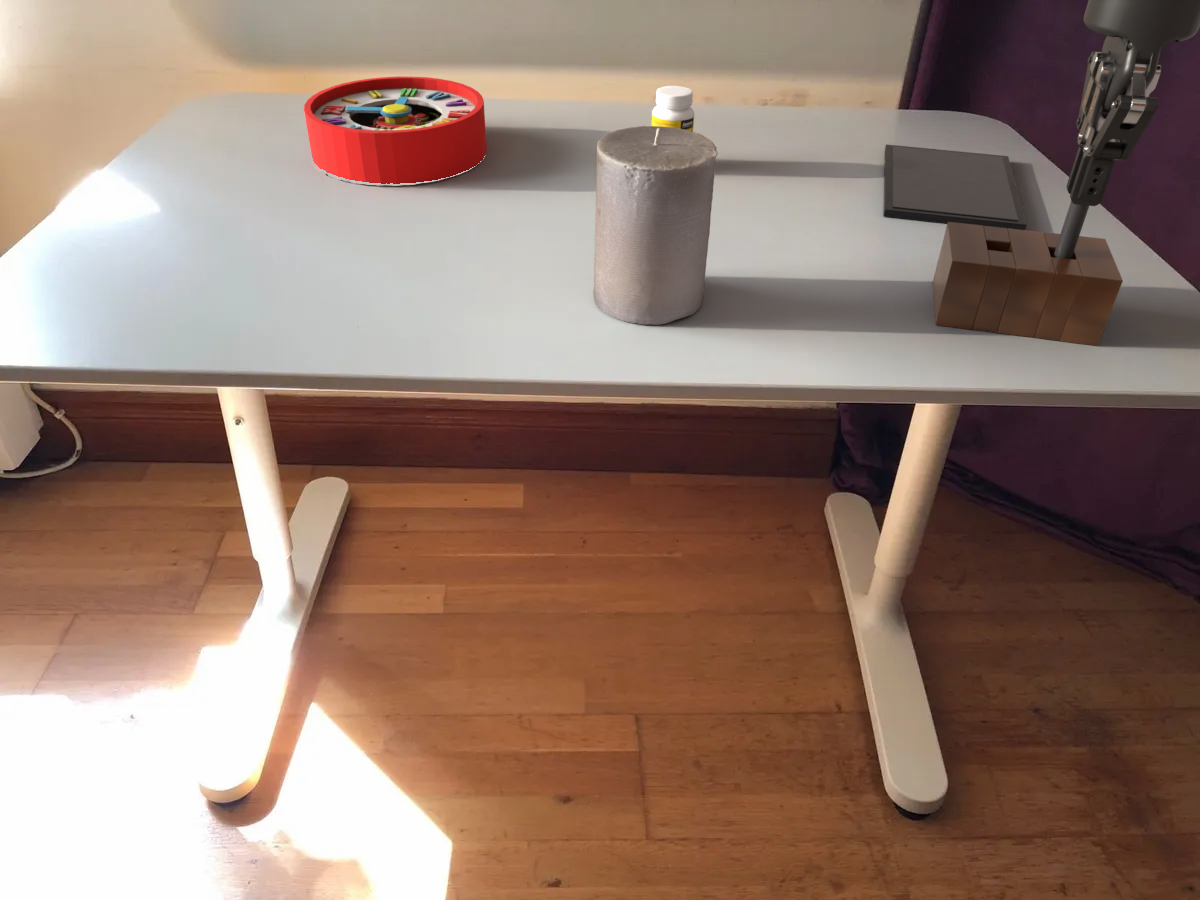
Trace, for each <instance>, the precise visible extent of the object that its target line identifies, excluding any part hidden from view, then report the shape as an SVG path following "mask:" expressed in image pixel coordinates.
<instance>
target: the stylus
mask: <svg viewBox="0 0 1200 900" xmlns="http://www.w3.org/2000/svg"><path fill="white" fill-rule="evenodd" d="M1108 141H1109V142H1111V141H1112V139H1110V140H1108ZM1089 208H1090V206H1087V205H1076V204H1073V203H1072V201H1071V200H1070V203H1069V206H1068V210H1067V213H1066V215H1065V219H1064V222H1063V225H1062V227H1061V231H1060V233H1059V234H1060V237H1059V240H1058V243H1057V246H1056V249H1055V252H1054V255H1053V257H1056V258H1064V259H1072V256H1073V253H1074V250H1075V247H1076V244H1077V241H1078V238H1079V236H1081V235H1080V234H1081V233H1082V232H1081V231H1082V229H1083V226H1084V223H1085V220H1086V217H1087V214H1088V212H1089Z"/></svg>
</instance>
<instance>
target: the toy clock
mask: <svg viewBox="0 0 1200 900" xmlns="http://www.w3.org/2000/svg"><path fill="white" fill-rule="evenodd" d="M303 105H304V107H303V113H304V119H305V125H306V130H307V136H308V142H309V149H310V154H311V159H312V158H313V161H314V163H315V164H316V165H317V166H318V167H319V168H320V169H323V170H325V171H326V172H327V173H331V174H333V175H336V176H338V177H343V178H345V179H349V180H355V181H362V182H369V183H381V184H386V183H387V184H390V183H393V184H400V183H416V182H424V181H432V180H438V179H441V178H446V177H450V176H453V175H456V174H458V173H461V172H463V171H466V170H469V169H470V168H472V167H474V166H476V165H477V164H478V163H480V161H482V160H483V158H484V156H485V155H486V156H487V153H486V151H487V152H488V147H487V132H486V116H485V99H484V97H483V95H482V94H481V93H480V92H479V91H478V90H476V89H475V88H473V87H471V86H469V85H467V84H464V83H460V82H457V81H453V80H450V79H449V80H448V79H443V78H436V77H428V76H402V75H401V76H381V77H372V78H371V77H370V78H365V79H357V80H353V81H349V82H348V81H347V82H343V83H339V84H336V85H333V86H330V87H327V88H324V89H322V90H319V91H318V92H317V93H314V94H313V95H312V96H310V97H309V98H308V99H307V100H306V101H305V103H304V104H303ZM484 159H485V158H484ZM313 161H312V162H313ZM483 161H484V160H483ZM314 163H313V164H314ZM480 164H481V163H480Z"/></svg>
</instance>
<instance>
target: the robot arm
mask: <svg viewBox="0 0 1200 900" xmlns="http://www.w3.org/2000/svg"><path fill="white" fill-rule="evenodd" d="M1083 23H1084V25H1085V26H1086V28H1088V29H1089V30H1090V31H1093V32H1094V33H1097V34H1100V35H1102V36H1106V37H1105V39H1104V41H1103V44H1102V48H1101V51H1092V52H1091V53H1090V55H1089V56H1088V58H1087V67H1086V73H1085V78H1084V84H1083V89H1082V95H1081V99H1080V100H1081V101H1080V106H1079V112H1078V116H1077V119H1076V129H1077V130H1079V132H1078V134H1077V137H1076V139H1077V145H1079V146H1078V148H1077V152H1076V155H1075V158H1074V161H1073V164H1072V168H1071V171H1070V173H1069V177H1068V179H1067V183H1066V187H1065V188H1066V190H1067V193H1068V194H1069V198H1070V202H1071V201H1072V203H1073V204H1076V205H1087V206H1089V207H1096V206H1098V205H1100V204H1101V203H1102V201H1103V198H1104V194H1105V192H1106V188H1107V186H1108V182H1109V180H1110V177H1111V174H1112V171H1113V168H1114V166H1115V163H1116V161H1127V160H1128V158H1129V157H1130V155H1131V153H1132V151H1133V150H1134V148H1136V145H1137V143H1138V141H1139V140H1140V138H1141V137H1142V135H1143V134H1144V133H1145V130H1146V129H1147V127H1148V125H1149V124H1150V122H1151V121H1152V119H1153V117H1154V116H1155V113H1156V112H1157V111H1158V108H1159V98H1158V97H1151V96H1150V95H1151V93H1152V92H1154V90H1155V89H1156V87H1157V85H1158V82H1159V79H1160V77H1161V74H1162V65H1161V64H1159V59H1160V56H1161V50H1162V48H1163V46H1165V45H1167V44H1168V43H1171V42H1176V43H1177V42H1178V43H1179V42H1183V41H1186V40H1190V39H1192V37H1194V36H1195V35H1196V34H1197V33H1198V31H1199V30H1200V0H1088V2H1087V5H1086V8H1085V11H1084V15H1083ZM1110 139H1112V141H1111V142H1109V141H1108V140H1110Z"/></svg>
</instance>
